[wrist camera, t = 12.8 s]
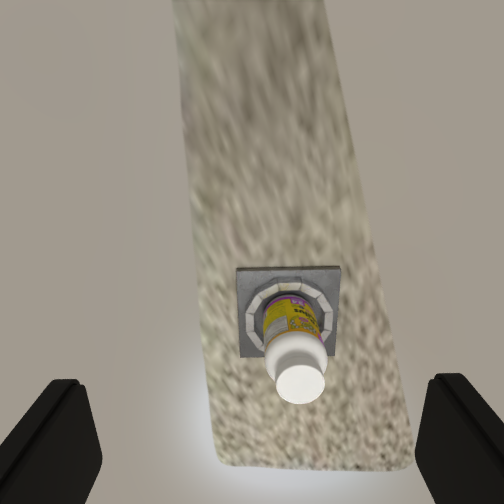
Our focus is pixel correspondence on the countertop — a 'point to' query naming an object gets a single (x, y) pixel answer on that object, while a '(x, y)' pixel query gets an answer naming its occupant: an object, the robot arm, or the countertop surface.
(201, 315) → the countertop surface
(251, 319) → the ring plate
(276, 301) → the supplement bottle
